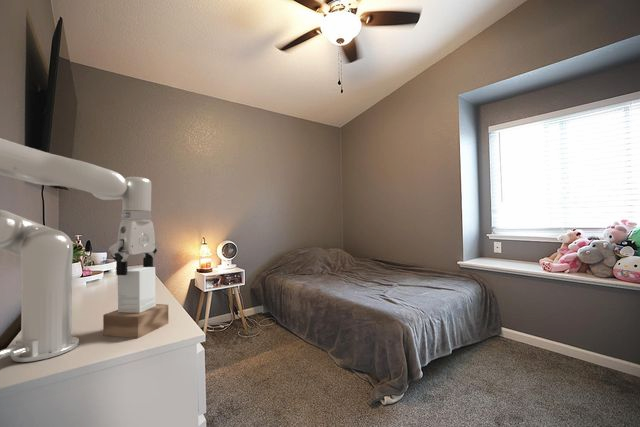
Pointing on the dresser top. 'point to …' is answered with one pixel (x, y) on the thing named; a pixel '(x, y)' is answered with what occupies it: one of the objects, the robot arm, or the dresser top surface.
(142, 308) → the supplement box
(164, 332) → the dresser top surface
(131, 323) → the walnut block
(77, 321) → the dresser top surface
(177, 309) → the dresser top surface
